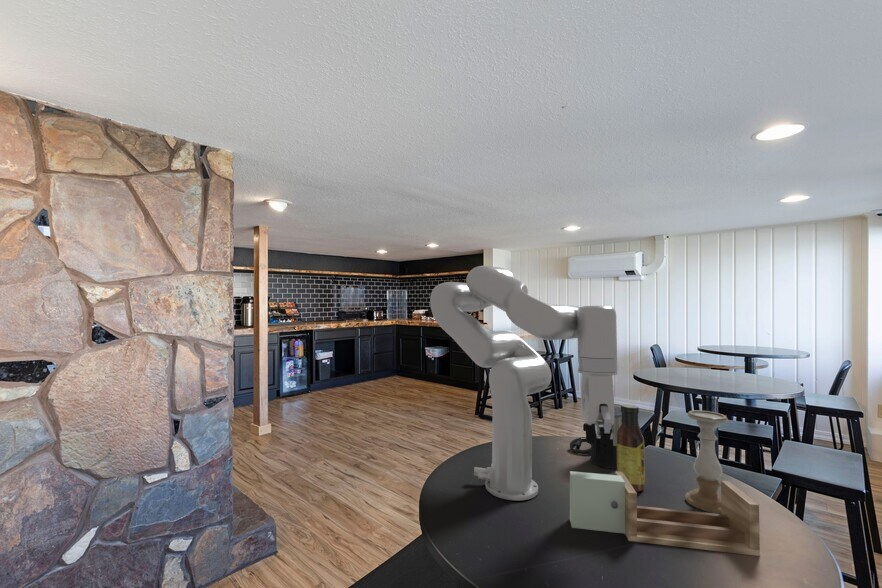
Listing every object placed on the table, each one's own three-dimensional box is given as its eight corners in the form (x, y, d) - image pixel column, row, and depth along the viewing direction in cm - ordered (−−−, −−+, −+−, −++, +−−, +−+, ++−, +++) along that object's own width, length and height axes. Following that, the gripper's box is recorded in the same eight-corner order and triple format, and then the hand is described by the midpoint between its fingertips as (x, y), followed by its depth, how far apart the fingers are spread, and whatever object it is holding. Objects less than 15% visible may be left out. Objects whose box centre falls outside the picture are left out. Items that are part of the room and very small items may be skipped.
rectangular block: (572, 529, 78) (572, 478, 78) (569, 519, 81) (569, 471, 82) (625, 535, 76) (625, 483, 77) (620, 525, 80) (620, 475, 80)
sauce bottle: (648, 494, 93) (648, 410, 94) (620, 491, 95) (620, 408, 95) (640, 482, 100) (640, 403, 101) (614, 479, 101) (614, 402, 102)
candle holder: (707, 493, 94) (706, 408, 95) (742, 512, 86) (741, 418, 86) (676, 497, 92) (675, 410, 93) (709, 516, 84) (708, 420, 84)
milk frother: (624, 471, 106) (624, 416, 107) (564, 461, 113) (564, 409, 114) (625, 454, 119) (625, 405, 120) (571, 445, 126) (571, 399, 127)
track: (628, 540, 74) (628, 492, 75) (615, 513, 84) (615, 471, 84) (759, 556, 70) (759, 504, 71) (729, 525, 80) (729, 481, 80)
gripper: (572, 360, 89) (573, 436, 89) (585, 371, 72) (587, 465, 72) (606, 361, 88) (608, 438, 87) (629, 372, 71) (631, 468, 70)
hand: (598, 450), depth 79 cm, fingers open, 9 cm apart
